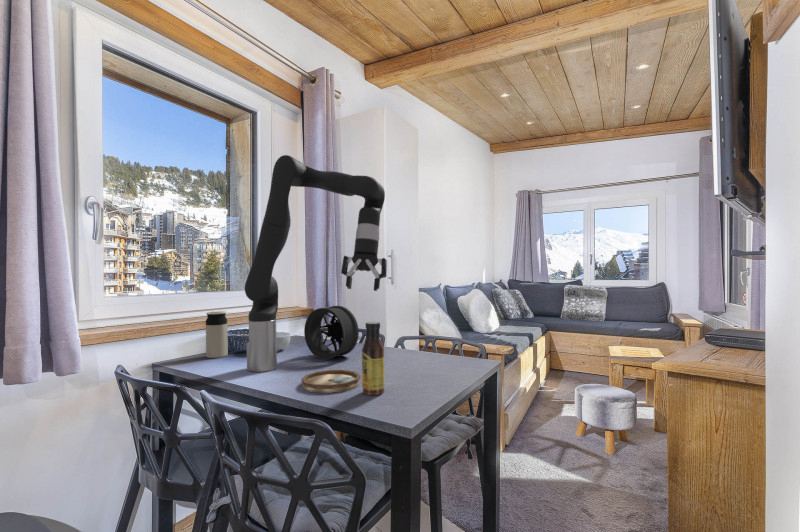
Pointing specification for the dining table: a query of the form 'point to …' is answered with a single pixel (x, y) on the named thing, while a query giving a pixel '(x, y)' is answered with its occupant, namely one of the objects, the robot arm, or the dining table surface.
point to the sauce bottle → (373, 361)
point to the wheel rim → (331, 332)
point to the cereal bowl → (282, 339)
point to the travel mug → (216, 334)
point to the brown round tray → (331, 381)
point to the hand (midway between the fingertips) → (362, 289)
